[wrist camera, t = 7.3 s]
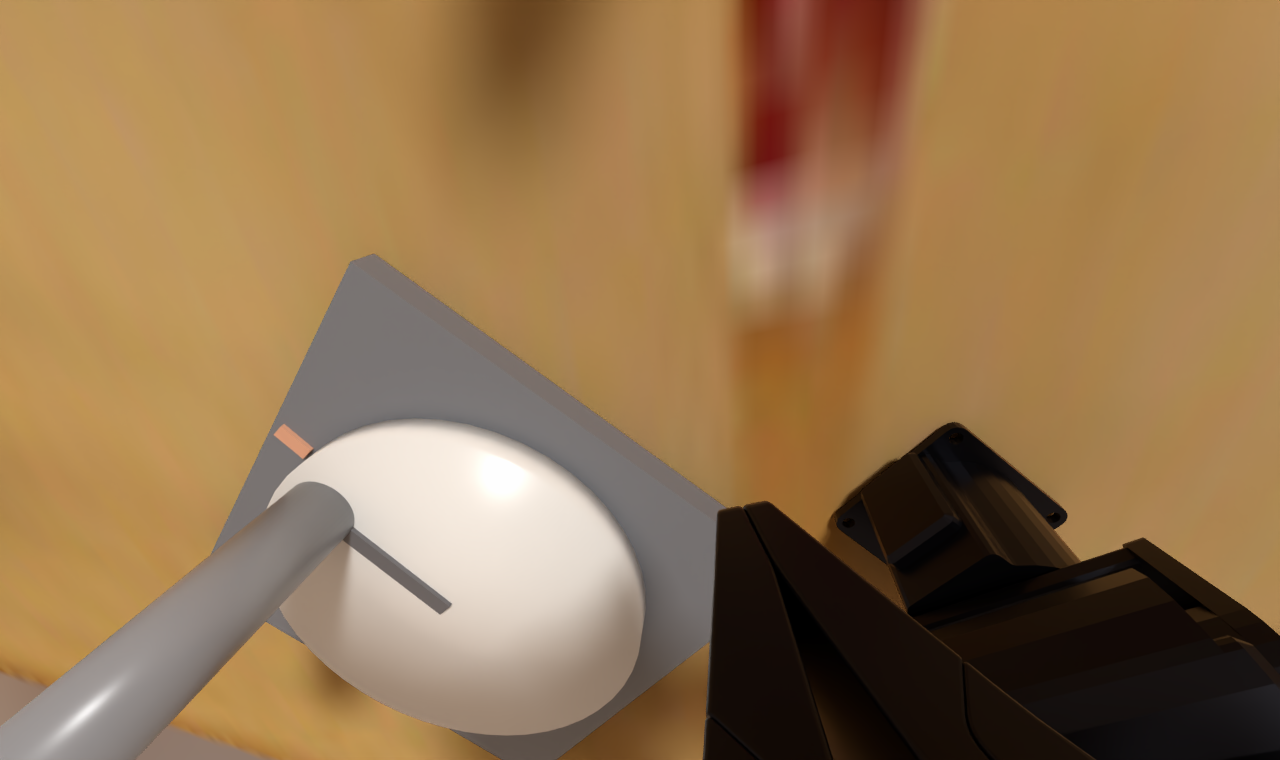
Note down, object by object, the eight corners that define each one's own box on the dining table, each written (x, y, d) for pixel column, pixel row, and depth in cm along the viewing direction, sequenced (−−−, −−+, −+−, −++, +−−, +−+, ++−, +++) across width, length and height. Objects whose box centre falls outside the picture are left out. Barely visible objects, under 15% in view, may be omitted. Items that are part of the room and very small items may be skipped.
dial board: (788, 553, 25) (793, 580, 23) (540, 751, 33) (532, 781, 32) (374, 253, 21) (347, 262, 20) (221, 562, 30) (194, 584, 29)
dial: (626, 415, 21) (494, 807, 9) (659, 720, 28) (612, 1168, 16) (227, 420, 24) (-298, 720, 11) (349, 695, 31) (107, 1059, 19)
